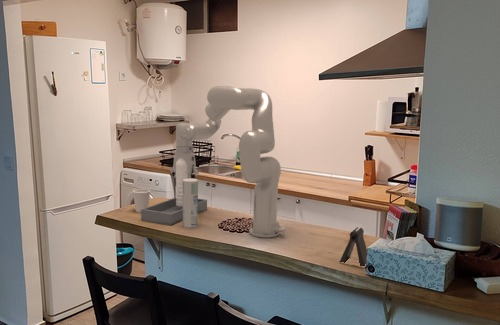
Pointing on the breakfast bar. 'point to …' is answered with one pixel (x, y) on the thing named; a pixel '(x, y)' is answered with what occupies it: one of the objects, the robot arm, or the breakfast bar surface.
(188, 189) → the spray can
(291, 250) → the breakfast bar surface
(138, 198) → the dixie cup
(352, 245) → the phone stand
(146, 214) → the tray
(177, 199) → the water bottle
